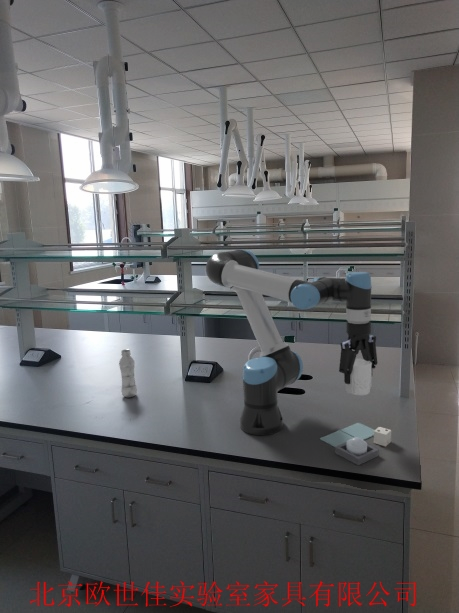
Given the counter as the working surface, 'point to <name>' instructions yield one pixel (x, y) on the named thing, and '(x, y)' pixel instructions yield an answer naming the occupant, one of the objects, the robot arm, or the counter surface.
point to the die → (382, 436)
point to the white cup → (361, 376)
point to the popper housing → (358, 460)
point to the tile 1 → (336, 438)
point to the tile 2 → (359, 431)
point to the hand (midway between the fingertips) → (358, 389)
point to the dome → (357, 446)
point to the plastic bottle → (127, 374)
